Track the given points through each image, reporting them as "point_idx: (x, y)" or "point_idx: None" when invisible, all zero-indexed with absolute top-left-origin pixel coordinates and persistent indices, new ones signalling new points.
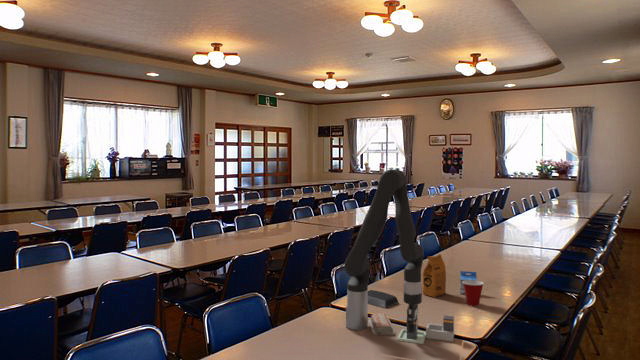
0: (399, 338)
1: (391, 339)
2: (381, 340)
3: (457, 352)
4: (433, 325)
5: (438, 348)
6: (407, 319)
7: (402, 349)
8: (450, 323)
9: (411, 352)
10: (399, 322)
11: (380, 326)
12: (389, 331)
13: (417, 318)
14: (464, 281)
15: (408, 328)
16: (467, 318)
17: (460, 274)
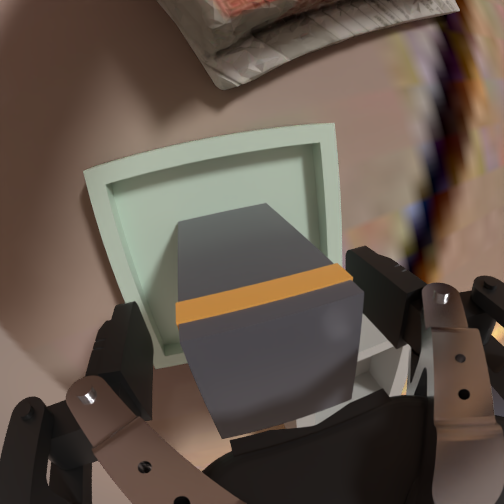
0: (88, 192)
1: (114, 98)
2: (58, 45)
3: (190, 456)
4: (396, 357)
5: (176, 412)
6: (7, 456)
7: (11, 265)
8: None
9: (21, 326)
10: (456, 78)
11: None
12: (197, 33)
13: (328, 405)
14: None
15: (110, 330)
16: (497, 334)
17: None
